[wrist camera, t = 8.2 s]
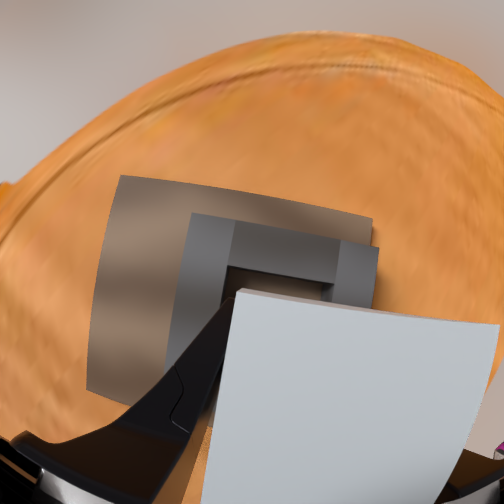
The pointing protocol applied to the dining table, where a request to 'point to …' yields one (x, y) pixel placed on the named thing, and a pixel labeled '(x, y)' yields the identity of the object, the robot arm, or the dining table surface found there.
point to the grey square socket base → (208, 271)
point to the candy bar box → (499, 452)
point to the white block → (342, 403)
